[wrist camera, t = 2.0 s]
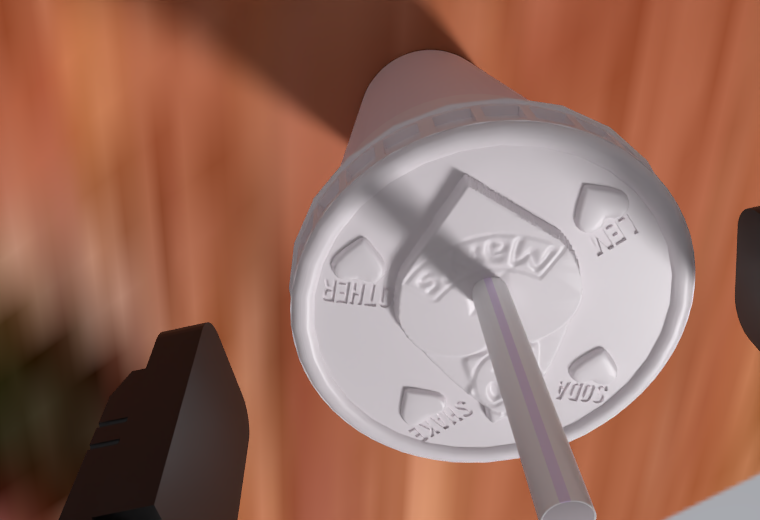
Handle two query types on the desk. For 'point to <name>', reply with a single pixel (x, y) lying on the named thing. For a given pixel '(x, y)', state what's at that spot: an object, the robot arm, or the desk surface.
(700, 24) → the desk surface
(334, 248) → the smoothie
